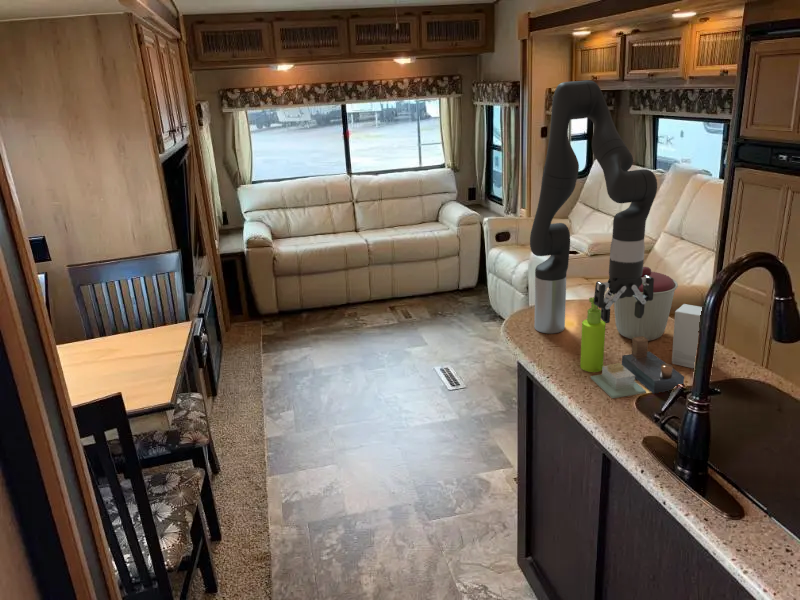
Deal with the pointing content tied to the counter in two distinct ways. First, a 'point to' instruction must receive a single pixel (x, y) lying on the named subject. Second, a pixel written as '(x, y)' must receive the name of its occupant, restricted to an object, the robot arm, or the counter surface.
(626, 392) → the rubber mat
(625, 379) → the lever cap
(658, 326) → the canister
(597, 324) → the soap dispenser
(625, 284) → the robot arm
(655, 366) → the hand plane
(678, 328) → the skincare box
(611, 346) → the counter surface
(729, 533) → the counter surface
